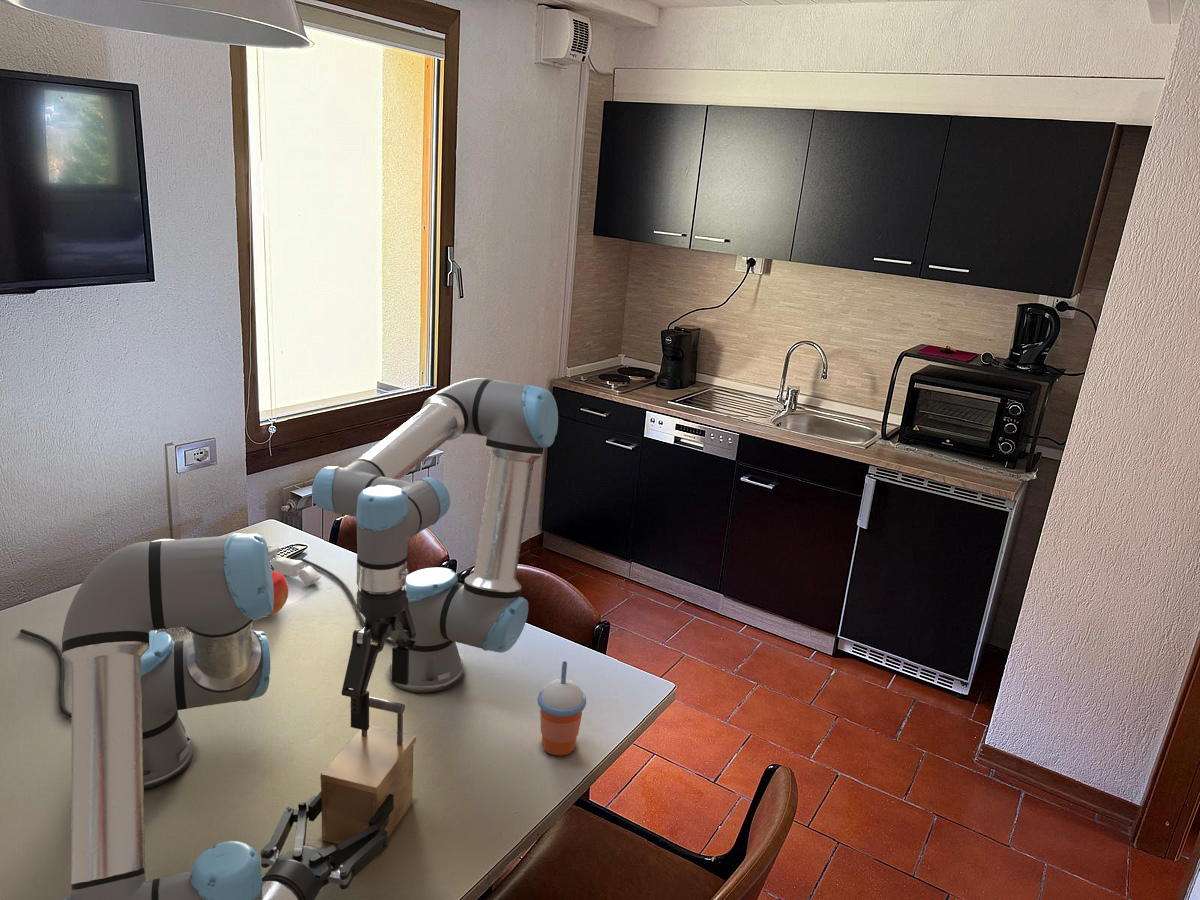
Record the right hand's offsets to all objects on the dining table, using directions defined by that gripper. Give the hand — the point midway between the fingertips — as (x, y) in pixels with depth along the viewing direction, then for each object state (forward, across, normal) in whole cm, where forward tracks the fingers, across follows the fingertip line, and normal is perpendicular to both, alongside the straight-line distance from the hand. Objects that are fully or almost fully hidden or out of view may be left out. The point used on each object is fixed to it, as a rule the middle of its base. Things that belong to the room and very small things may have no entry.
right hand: (380, 704), depth 139 cm
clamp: (+19, +68, +62) cm, 94 cm away
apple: (+19, +49, +55) cm, 76 cm away
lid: (+8, -4, 0) cm, 9 cm away
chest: (+19, -4, 0) cm, 20 cm away
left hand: (+12, -6, 0) cm, 14 cm away
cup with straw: (+19, +25, -24) cm, 40 cm away
